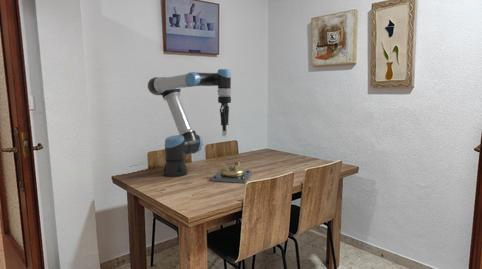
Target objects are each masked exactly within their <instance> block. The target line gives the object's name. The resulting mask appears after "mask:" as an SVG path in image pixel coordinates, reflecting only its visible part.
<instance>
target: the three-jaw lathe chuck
mask: <svg viewBox="0 0 482 269" xmlns="http://www.w3.org/2000/svg"><path fill="white" fill-rule="evenodd" d="M220 170H221V175H222V176H226V177H238V176H242V175H244V171H245V168H243V167H241V162H240V161H239V160H236V161H235V162H234V165H228V166H227V167H226V163H222V162H221V163H220Z"/></svg>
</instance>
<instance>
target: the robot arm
mask: <svg viewBox="0 0 482 269" xmlns="http://www.w3.org/2000/svg"><path fill="white" fill-rule="evenodd" d="M231 75H232V74H231V69H229V68H220V69H218V70H217V72H197V71H196V72H195V71H192V72H188V73H185V74H179V75H175V76H174V75H173V76H168V77H167V76H166V77H164V76H163V77H161V76H155V77H152V78H150V79H149V81H148V83H147V90H148V91H149V93H151V94H152V95H155V96H161V98H162V99H163V101H165V102H166V103H167V106H168V108H169V110H170V113H171V116H172V118H173V121H174V124H175V127H176V129H177V131H178V135H177V134H176V135H171V136H168V137H166V138H165V141H164V153H165V154H164V155H165V156H164V159H165V160H164V161H165V162H164V166H163V170H162V174H163V176H164V175H165V176H164V177H169V178H170V177H171V178H173V177H174V178H175V177H182V176H186V175H188V173H189V172H188V170H189V169H188V167H187V165H186V161H185V158H186V157H185V156H187V155H192V154H193V155H194V154H196V153H199V152H201V150H202V148H203V145H204V144H203V143H204V142H203V137H202V136H201V135H199V134H197V132H196V130H194V129H192V126H191V124H190V122H189V118H188V116H187V113H186V111H185V109H184V106H183V103H182V100H181V99H180V95H181V92H182V91H181V90H182V89H184V88H190V87H191V88H192V87H217V90H216V91H217V95H218V96H217V102H218V103H219V104H221V105H220V108H219V116H220V126H221V128H222V129H221V131H222V132H221V133H222V135H221V136H222V137H228V126H229V114H230V113H229V112H230V107H229V104H230V103H232V97H231V95H232V88H231V86H232V83H231V82H232V76H231Z"/></svg>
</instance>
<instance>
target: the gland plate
mask: <svg viewBox="0 0 482 269" xmlns="http://www.w3.org/2000/svg"><path fill="white" fill-rule="evenodd" d="M252 175H253V170H244V175H242V176H238V177H226V176H222V175H221V169H220V170H219V171H217V172H216V173H215V174H214V175H212V177H210V181H211V182H221V183H233V184H247V182H248V180H249V179H250V178H251V176H252Z"/></svg>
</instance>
